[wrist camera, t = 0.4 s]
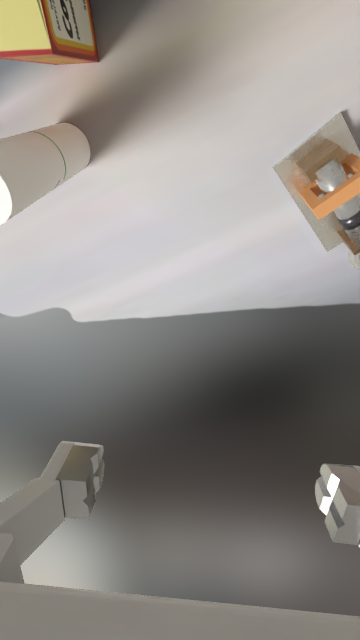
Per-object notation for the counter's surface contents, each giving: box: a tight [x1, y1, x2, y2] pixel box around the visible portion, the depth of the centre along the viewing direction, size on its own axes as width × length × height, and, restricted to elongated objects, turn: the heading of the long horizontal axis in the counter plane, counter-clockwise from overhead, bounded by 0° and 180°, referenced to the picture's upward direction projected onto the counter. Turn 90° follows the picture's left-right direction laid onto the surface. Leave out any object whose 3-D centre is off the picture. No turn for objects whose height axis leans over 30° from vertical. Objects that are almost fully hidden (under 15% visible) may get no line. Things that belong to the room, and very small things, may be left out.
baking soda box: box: [0, 0, 99, 65], centre depth 33 cm, size 10×6×16 cm
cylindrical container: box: [0, 123, 91, 225], centre depth 39 cm, size 7×7×25 cm
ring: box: [299, 153, 360, 220], centre depth 43 cm, size 9×2×9 cm, turn 132°
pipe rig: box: [273, 113, 360, 255], centre depth 46 cm, size 11×19×8 cm, turn 42°
